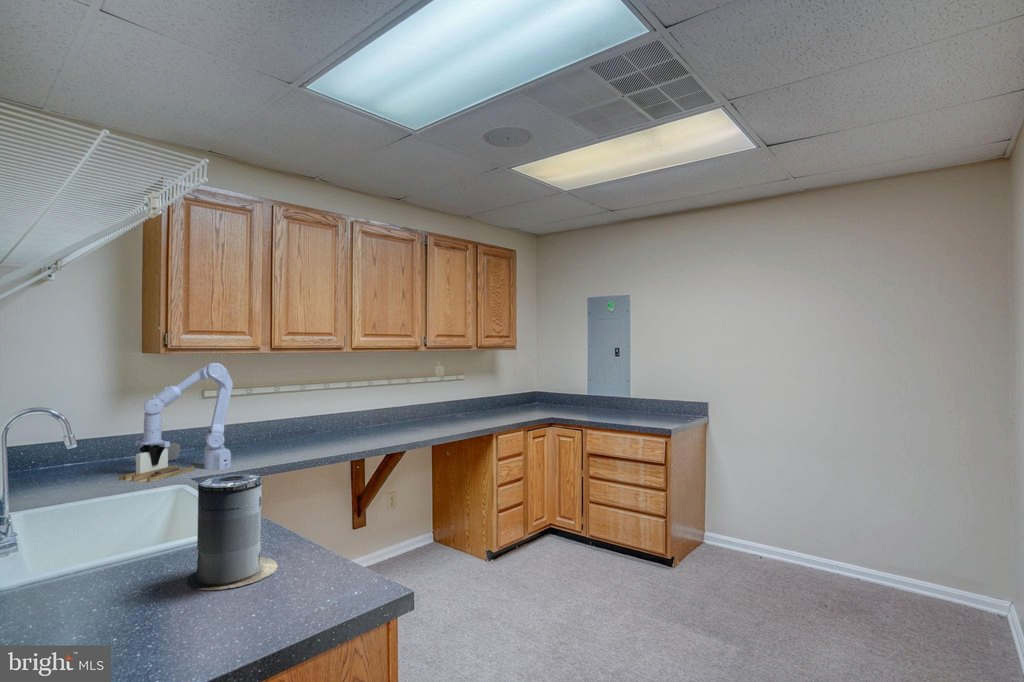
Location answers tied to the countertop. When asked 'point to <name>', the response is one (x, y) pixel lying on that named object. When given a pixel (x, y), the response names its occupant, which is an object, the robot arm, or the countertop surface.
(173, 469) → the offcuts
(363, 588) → the countertop surface
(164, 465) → the white rectangular block
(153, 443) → the robot arm
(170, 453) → the grey curved slab
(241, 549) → the trash can
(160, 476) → the rack
